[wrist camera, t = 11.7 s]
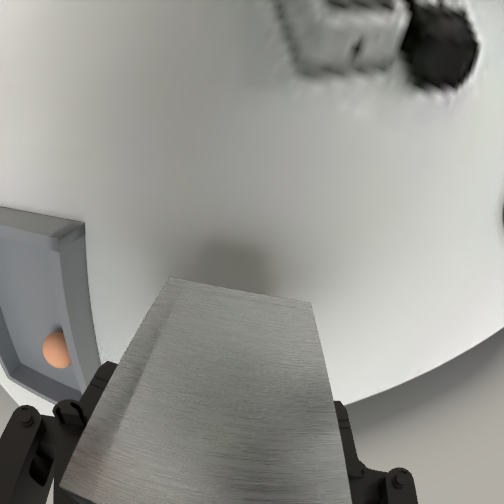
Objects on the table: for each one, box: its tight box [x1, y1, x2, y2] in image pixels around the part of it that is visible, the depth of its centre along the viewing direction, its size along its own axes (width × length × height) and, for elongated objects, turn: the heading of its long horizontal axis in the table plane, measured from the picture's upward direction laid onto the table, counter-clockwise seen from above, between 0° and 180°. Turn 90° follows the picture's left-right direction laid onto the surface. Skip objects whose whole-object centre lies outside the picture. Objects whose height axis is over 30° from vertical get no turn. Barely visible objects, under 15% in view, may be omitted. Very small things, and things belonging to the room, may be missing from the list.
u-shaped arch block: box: [59, 277, 352, 504], centre depth 9 cm, size 6×6×10 cm
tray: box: [0, 207, 101, 405], centre depth 21 cm, size 22×15×4 cm
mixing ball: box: [43, 332, 72, 368], centre depth 22 cm, size 4×4×4 cm
